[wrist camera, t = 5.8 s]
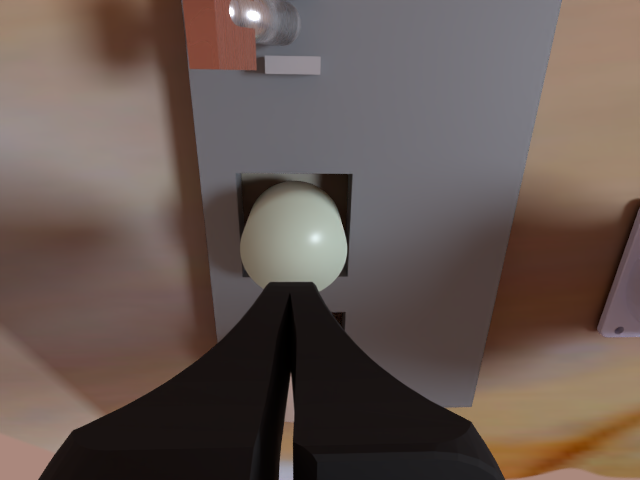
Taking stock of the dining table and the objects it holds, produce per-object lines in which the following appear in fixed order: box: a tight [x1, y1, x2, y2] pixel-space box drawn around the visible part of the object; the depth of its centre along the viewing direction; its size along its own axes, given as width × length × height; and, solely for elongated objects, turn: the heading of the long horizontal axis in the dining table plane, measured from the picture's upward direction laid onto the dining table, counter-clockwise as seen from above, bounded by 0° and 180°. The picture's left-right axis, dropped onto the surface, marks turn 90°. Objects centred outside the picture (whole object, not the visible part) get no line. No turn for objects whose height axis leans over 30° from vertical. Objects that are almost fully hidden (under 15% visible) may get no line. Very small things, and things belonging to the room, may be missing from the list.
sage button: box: [240, 181, 347, 291], centre depth 17 cm, size 4×4×3 cm
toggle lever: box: [182, 0, 301, 70], centre depth 12 cm, size 1×3×4 cm
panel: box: [181, 0, 562, 408], centre depth 18 cm, size 14×24×2 cm, turn 179°
